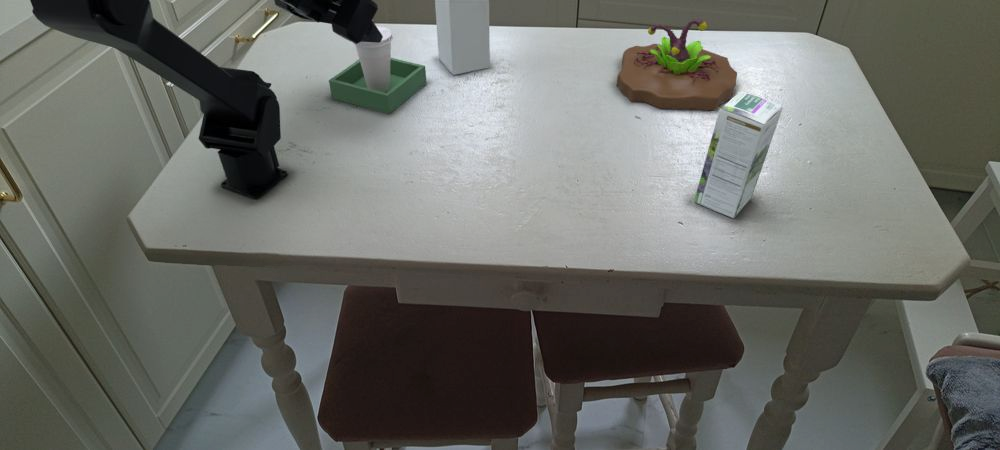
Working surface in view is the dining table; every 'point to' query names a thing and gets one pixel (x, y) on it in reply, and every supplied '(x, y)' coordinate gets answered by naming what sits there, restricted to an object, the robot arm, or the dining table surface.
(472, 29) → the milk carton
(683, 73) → the plant
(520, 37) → the dining table surface
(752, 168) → the syrup box
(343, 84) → the caddy
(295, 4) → the robot arm
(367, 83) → the smoothie
